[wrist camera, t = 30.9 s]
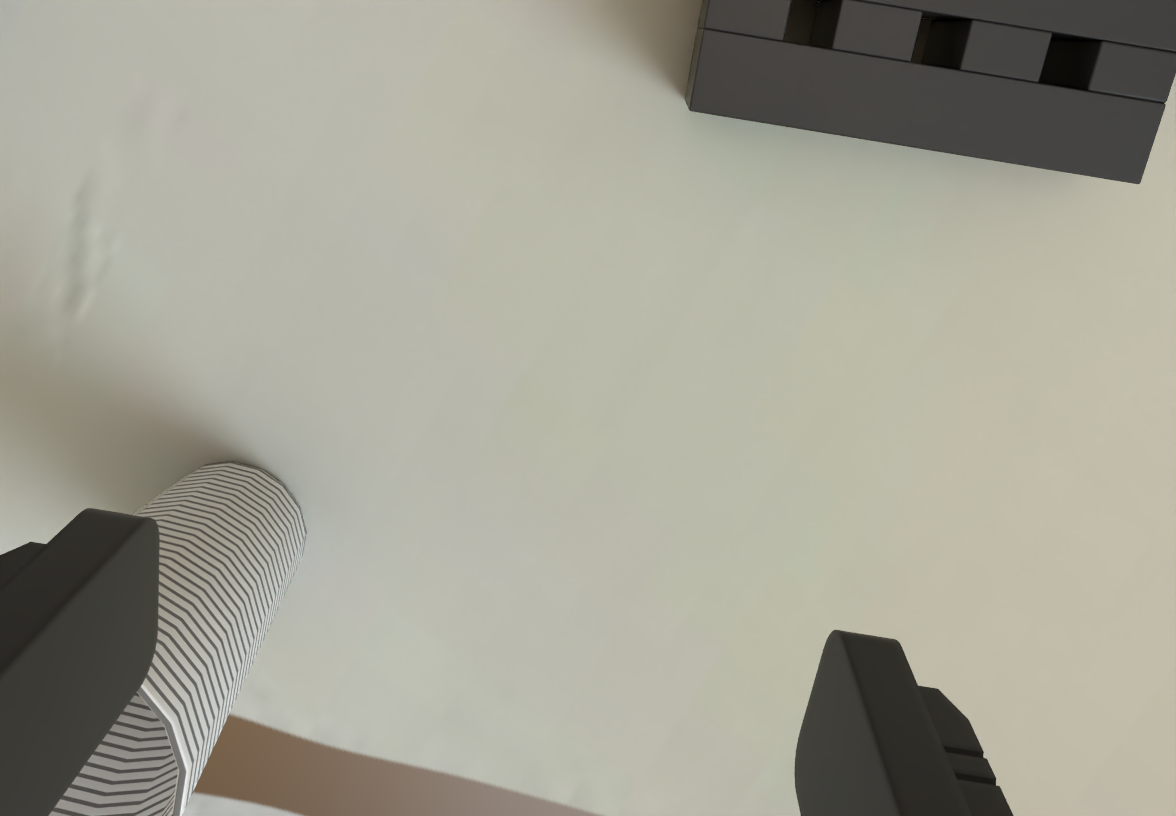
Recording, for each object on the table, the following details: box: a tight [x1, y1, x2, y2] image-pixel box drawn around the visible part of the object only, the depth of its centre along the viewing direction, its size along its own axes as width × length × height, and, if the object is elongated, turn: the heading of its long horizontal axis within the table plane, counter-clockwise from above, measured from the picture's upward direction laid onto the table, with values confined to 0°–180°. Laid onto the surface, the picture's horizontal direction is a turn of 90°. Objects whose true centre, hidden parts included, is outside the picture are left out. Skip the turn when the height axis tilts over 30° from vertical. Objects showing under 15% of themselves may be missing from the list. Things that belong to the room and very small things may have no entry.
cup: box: [49, 462, 307, 816], centre depth 38 cm, size 8×8×16 cm
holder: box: [685, 0, 1176, 184], centre depth 35 cm, size 6×14×5 cm, turn 81°
